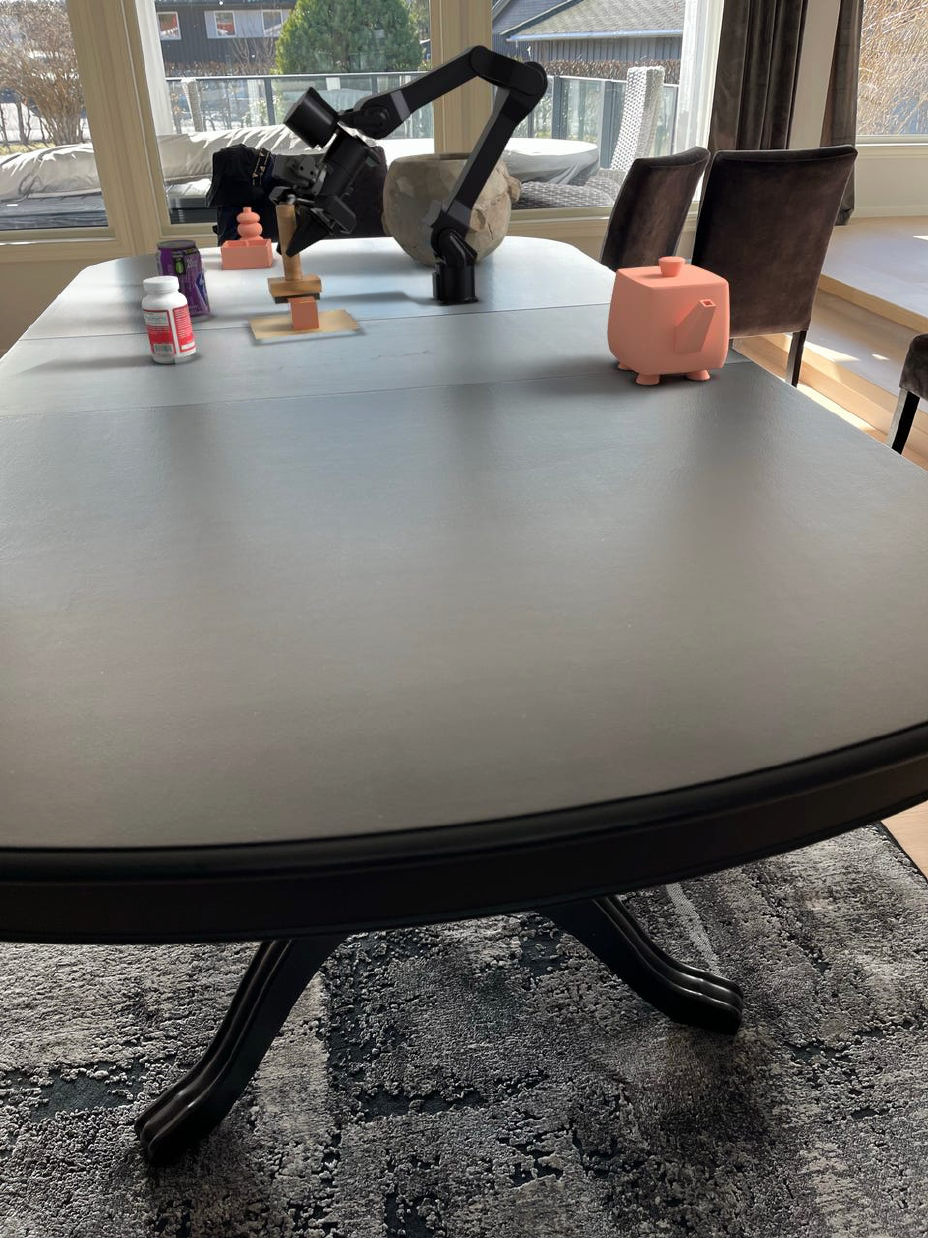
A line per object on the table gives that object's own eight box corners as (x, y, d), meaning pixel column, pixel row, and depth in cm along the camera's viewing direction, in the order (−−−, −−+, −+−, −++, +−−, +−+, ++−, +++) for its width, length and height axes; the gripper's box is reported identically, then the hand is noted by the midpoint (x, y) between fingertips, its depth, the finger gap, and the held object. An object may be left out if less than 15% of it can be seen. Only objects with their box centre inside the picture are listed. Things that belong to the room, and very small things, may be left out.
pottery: (269, 267, 195) (263, 216, 190) (223, 269, 194) (215, 218, 189) (276, 252, 210) (270, 204, 205) (233, 254, 210) (227, 206, 205)
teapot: (747, 393, 115) (763, 271, 108) (649, 402, 113) (658, 279, 106) (677, 347, 134) (686, 241, 126) (591, 354, 132) (596, 247, 124)
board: (345, 314, 157) (344, 308, 156) (361, 334, 145) (361, 327, 145) (248, 324, 153) (247, 317, 153) (256, 345, 141) (255, 338, 141)
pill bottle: (192, 350, 140) (178, 272, 134) (201, 360, 135) (187, 280, 129) (149, 356, 137) (133, 277, 132) (157, 367, 133) (141, 285, 127)
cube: (315, 322, 149) (312, 296, 147) (319, 328, 145) (316, 301, 143) (290, 324, 148) (287, 298, 146) (293, 330, 144) (290, 303, 142)
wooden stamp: (318, 293, 155) (308, 201, 148) (323, 300, 151) (313, 205, 144) (269, 298, 153) (257, 205, 146) (273, 304, 149) (260, 209, 142)
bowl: (352, 270, 190) (343, 159, 180) (436, 247, 210) (432, 147, 199) (463, 282, 176) (460, 164, 166) (541, 257, 196) (543, 150, 186)
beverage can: (199, 324, 154) (186, 246, 148) (159, 323, 155) (145, 246, 149) (217, 313, 160) (205, 238, 154) (179, 313, 161) (165, 238, 155)
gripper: (272, 130, 149) (218, 213, 149) (330, 134, 136) (271, 226, 136) (321, 180, 157) (270, 259, 157) (381, 188, 143) (325, 275, 144)
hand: (282, 254), depth 148 cm, fingers closed on wooden stamp, 3 cm apart
